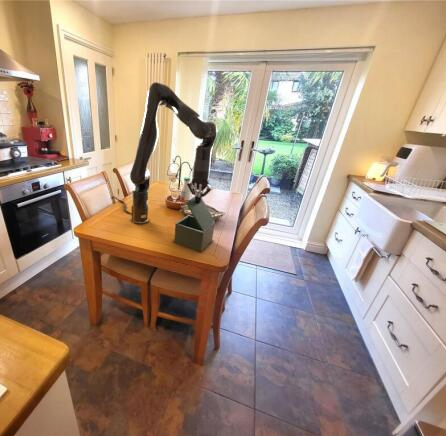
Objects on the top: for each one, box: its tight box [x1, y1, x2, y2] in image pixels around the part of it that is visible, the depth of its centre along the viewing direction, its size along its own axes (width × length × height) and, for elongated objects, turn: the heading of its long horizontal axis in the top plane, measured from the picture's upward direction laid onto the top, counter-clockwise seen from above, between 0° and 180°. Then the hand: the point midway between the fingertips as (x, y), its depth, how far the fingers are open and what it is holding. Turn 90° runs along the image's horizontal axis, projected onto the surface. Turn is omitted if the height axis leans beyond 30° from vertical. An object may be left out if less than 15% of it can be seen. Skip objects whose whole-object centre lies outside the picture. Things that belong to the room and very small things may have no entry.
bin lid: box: [186, 196, 216, 232], centre depth 116 cm, size 17×14×1 cm
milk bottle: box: [179, 176, 192, 200], centre depth 168 cm, size 8×8×20 cm
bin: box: [173, 215, 216, 253], centre depth 122 cm, size 16×14×11 cm
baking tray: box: [179, 203, 227, 221], centre depth 154 cm, size 30×22×5 cm
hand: (197, 203), depth 115 cm, fingers closed
